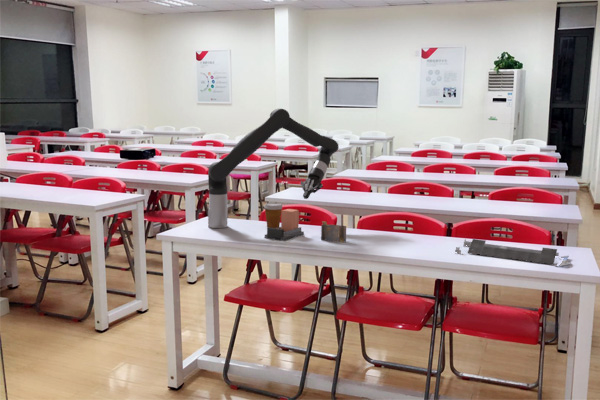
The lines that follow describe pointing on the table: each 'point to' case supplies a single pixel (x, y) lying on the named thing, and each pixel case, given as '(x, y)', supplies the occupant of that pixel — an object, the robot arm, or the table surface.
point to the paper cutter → (513, 252)
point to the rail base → (283, 233)
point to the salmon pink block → (289, 219)
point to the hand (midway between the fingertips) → (305, 197)
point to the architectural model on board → (333, 232)
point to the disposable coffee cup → (273, 214)
